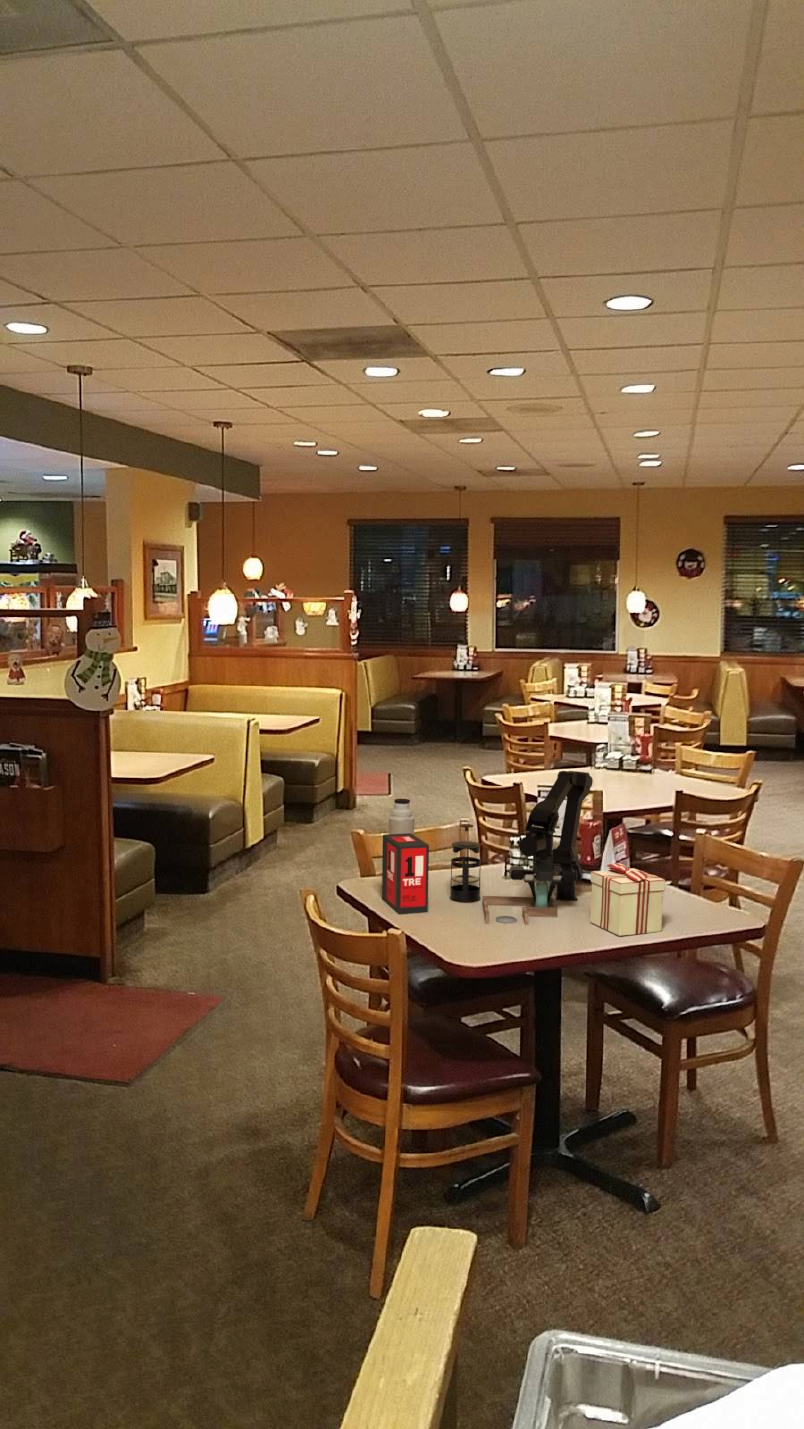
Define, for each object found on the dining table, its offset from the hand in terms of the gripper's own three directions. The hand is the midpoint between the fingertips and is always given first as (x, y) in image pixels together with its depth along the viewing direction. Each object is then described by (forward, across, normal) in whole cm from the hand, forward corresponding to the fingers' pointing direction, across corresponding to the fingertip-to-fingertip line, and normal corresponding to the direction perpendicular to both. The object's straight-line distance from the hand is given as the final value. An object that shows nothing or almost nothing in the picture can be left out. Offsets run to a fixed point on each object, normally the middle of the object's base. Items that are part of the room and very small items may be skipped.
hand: (541, 902), depth 323 cm
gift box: (+3, +23, -13) cm, 27 cm away
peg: (+2, 0, 0) cm, 2 cm away
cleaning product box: (+3, -40, +2) cm, 40 cm away
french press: (+3, -22, +12) cm, 25 cm away
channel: (+3, -6, -4) cm, 8 cm away
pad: (+3, -11, -10) cm, 15 cm away
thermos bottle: (+3, -42, +24) cm, 48 cm away
